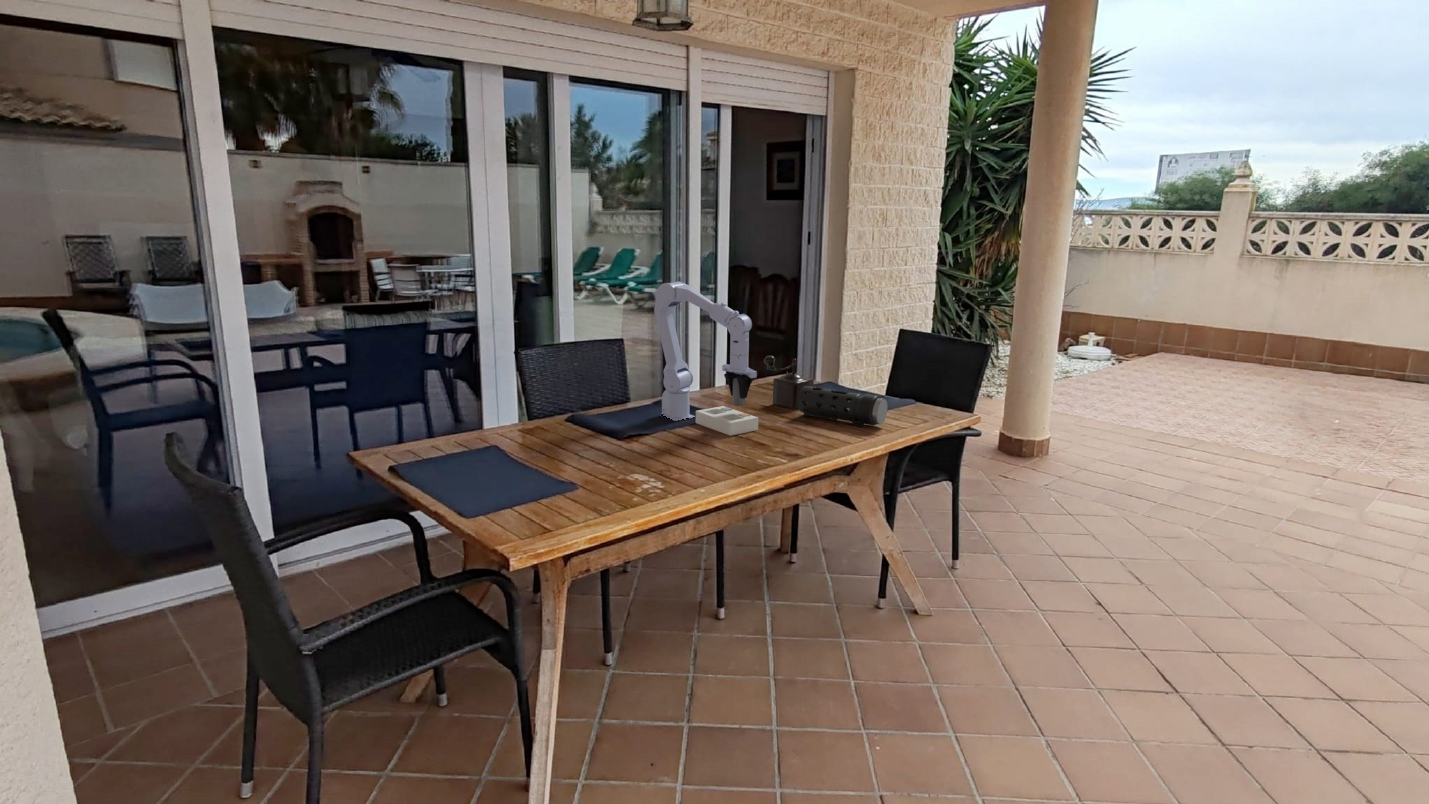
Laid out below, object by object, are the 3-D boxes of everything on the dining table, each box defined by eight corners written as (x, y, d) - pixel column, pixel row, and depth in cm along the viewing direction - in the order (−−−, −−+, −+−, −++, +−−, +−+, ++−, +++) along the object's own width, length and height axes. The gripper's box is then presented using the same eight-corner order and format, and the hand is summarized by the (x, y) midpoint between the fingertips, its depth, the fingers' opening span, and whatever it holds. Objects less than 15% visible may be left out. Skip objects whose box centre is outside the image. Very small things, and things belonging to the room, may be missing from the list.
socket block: (695, 422, 245) (695, 409, 244) (722, 417, 251) (722, 405, 250) (730, 435, 231) (730, 422, 230) (758, 429, 238) (758, 416, 236)
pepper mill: (790, 399, 277) (792, 350, 273) (813, 405, 269) (815, 354, 265) (760, 406, 267) (761, 355, 263) (783, 412, 259) (784, 360, 255)
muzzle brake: (810, 412, 260) (811, 382, 257) (887, 425, 244) (889, 394, 241) (796, 418, 252) (797, 387, 250) (875, 432, 236) (876, 399, 234)
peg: (730, 403, 242) (730, 378, 240) (742, 402, 243) (742, 377, 241) (735, 406, 238) (736, 381, 236) (747, 405, 240) (747, 380, 238)
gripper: (714, 352, 240) (714, 394, 243) (744, 358, 229) (743, 402, 232) (732, 349, 244) (731, 391, 247) (762, 356, 233) (761, 399, 236)
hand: (738, 396), depth 240 cm, fingers closed on peg, 4 cm apart
